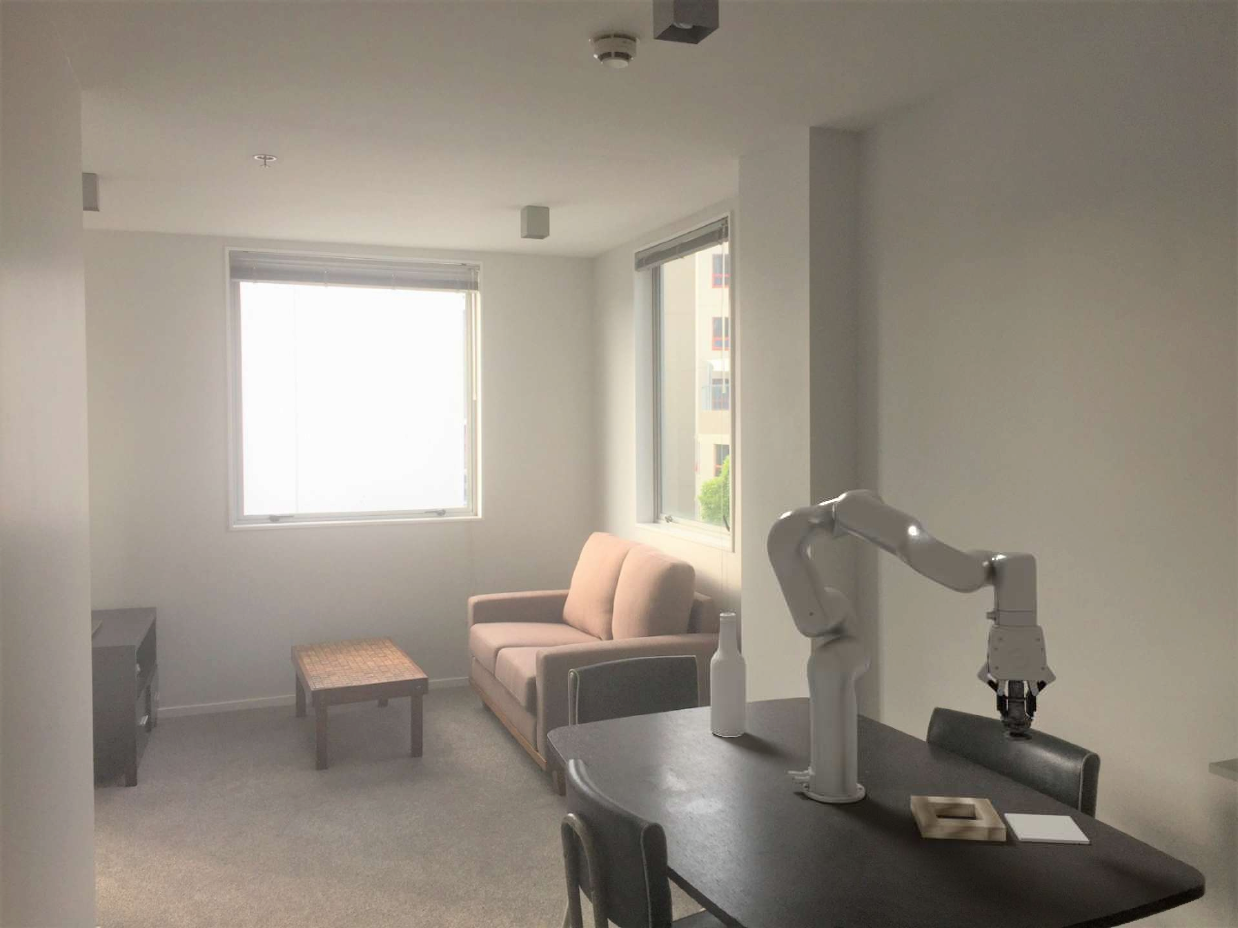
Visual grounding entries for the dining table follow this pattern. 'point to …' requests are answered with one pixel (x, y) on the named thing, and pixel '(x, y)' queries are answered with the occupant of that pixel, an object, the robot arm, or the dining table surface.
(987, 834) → the frame
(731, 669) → the alcohol
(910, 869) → the dining table surface
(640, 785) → the dining table surface
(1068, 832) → the rubber mat
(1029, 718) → the black chess piece
